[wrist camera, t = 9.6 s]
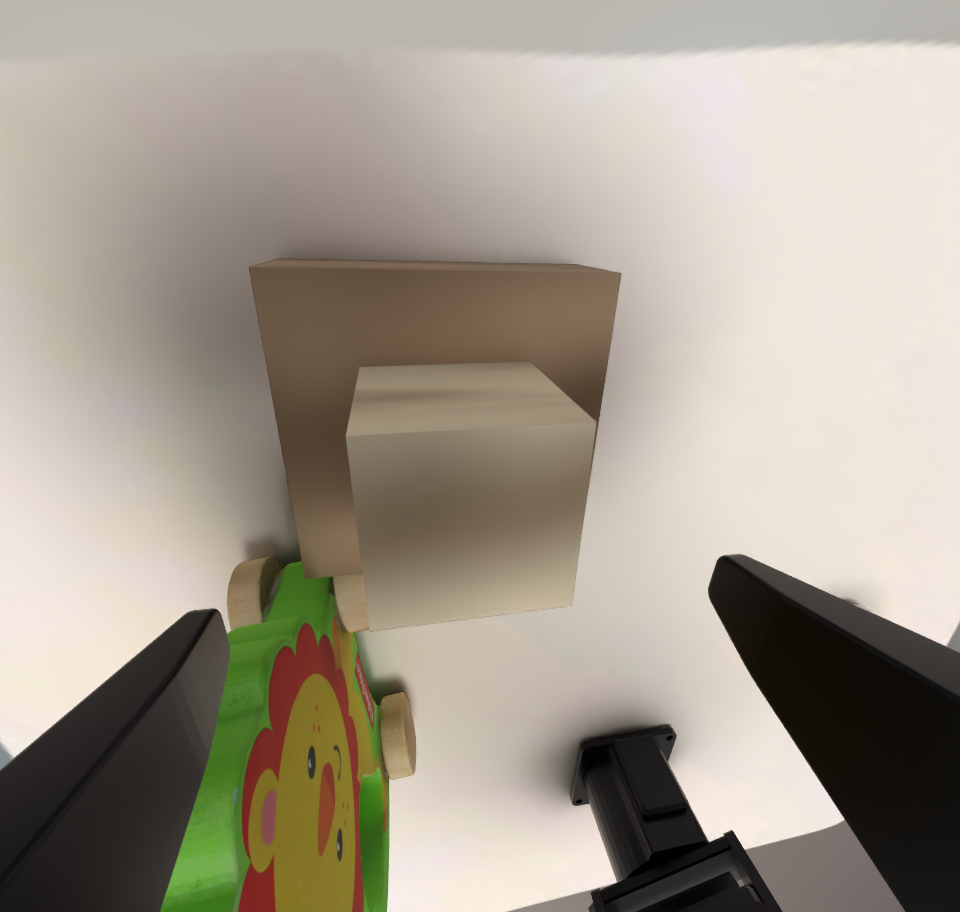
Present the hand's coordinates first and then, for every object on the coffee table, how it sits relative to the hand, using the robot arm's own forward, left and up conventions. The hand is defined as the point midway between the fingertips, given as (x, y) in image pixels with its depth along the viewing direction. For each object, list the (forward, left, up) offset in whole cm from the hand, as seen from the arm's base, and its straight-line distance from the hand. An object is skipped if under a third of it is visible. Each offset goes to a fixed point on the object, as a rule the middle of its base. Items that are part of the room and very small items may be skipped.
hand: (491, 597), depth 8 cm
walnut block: (0, 0, -11) cm, 11 cm away
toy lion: (-11, +5, -11) cm, 16 cm away
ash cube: (0, 0, -7) cm, 7 cm away
